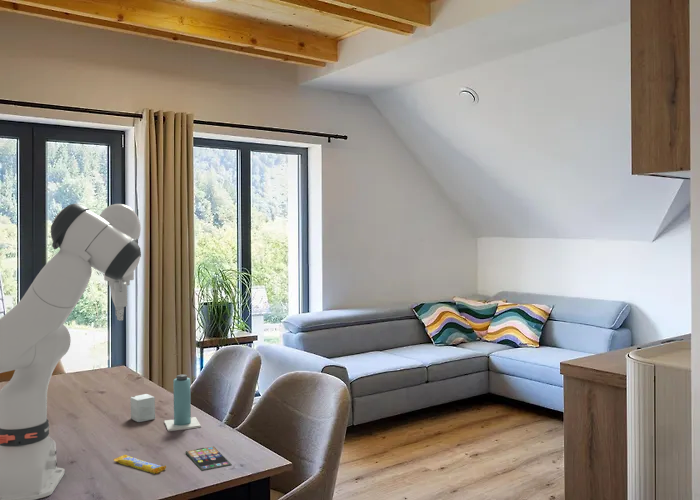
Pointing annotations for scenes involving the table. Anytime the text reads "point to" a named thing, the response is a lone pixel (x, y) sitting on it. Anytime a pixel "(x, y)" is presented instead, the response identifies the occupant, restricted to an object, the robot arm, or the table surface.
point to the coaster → (173, 427)
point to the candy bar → (139, 464)
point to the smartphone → (208, 458)
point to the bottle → (182, 400)
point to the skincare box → (142, 407)
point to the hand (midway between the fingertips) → (119, 318)
